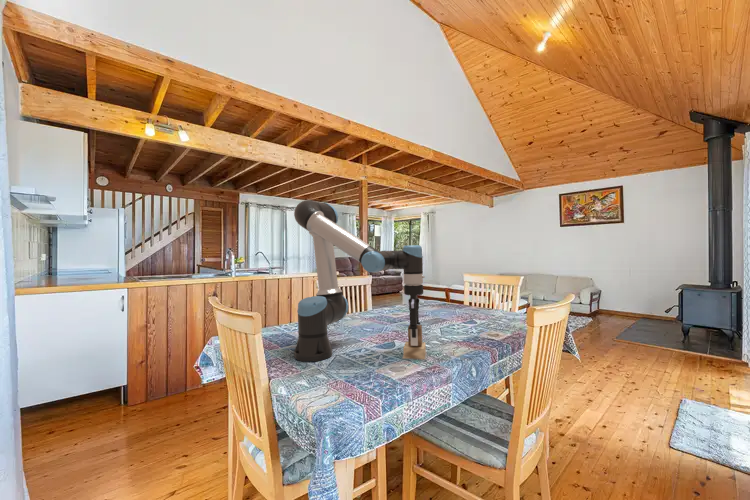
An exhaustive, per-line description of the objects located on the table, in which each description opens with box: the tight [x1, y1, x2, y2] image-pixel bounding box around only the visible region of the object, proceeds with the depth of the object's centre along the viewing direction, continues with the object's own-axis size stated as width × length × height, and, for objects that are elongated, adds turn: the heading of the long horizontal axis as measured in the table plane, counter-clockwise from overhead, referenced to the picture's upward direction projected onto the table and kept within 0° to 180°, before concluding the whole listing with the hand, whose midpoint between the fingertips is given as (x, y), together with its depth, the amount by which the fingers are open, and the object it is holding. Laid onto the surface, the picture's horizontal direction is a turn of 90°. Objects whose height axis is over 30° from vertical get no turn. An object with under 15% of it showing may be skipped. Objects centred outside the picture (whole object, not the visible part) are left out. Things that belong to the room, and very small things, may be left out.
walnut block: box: [407, 324, 423, 346], centre depth 128 cm, size 5×5×7 cm
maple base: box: [403, 341, 427, 360], centre depth 128 cm, size 8×8×4 cm
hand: (415, 343), depth 128 cm, fingers closed on walnut block, 5 cm apart
